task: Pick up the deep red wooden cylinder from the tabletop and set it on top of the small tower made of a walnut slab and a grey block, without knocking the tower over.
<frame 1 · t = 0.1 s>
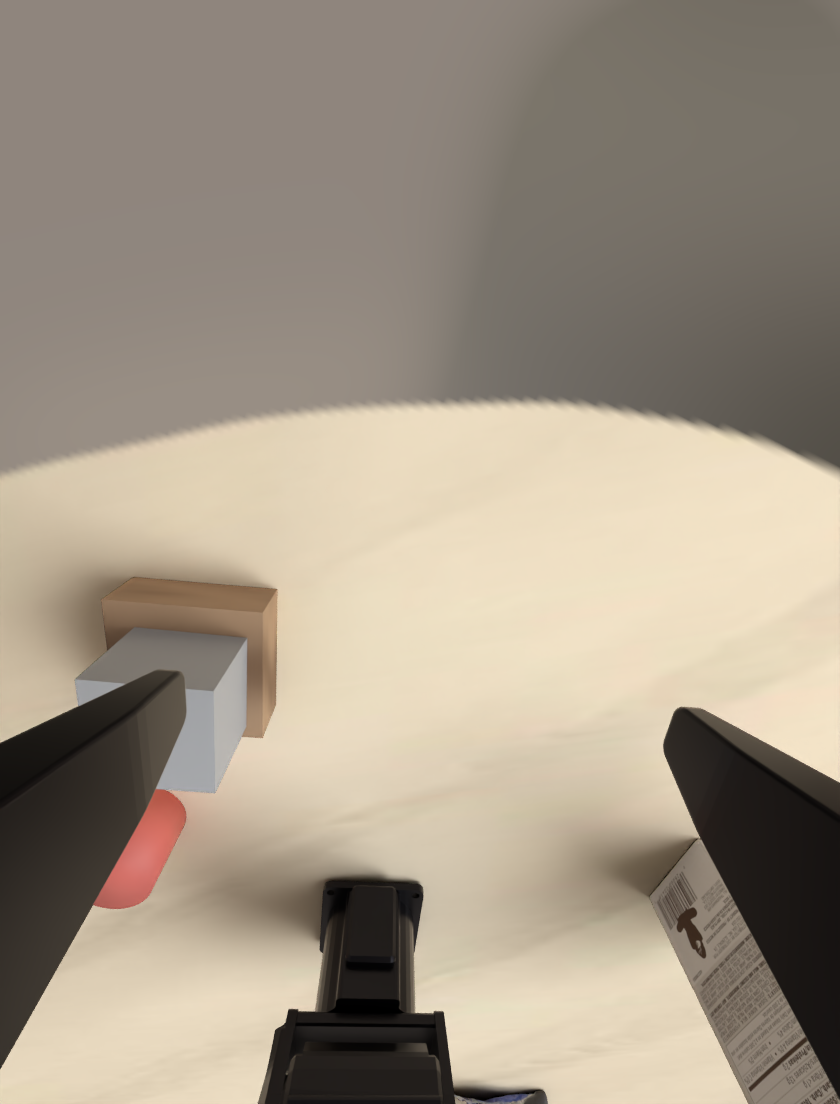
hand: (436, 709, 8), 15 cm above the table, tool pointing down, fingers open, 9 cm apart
walnut slab: (211, 640, 24), on the table
coffee box: (720, 881, 32), on the table
snack package: (475, 1098, 40), on the table
red cylinder: (148, 813, 28), on the table
grey block: (192, 679, 22), point 3 cm above the table
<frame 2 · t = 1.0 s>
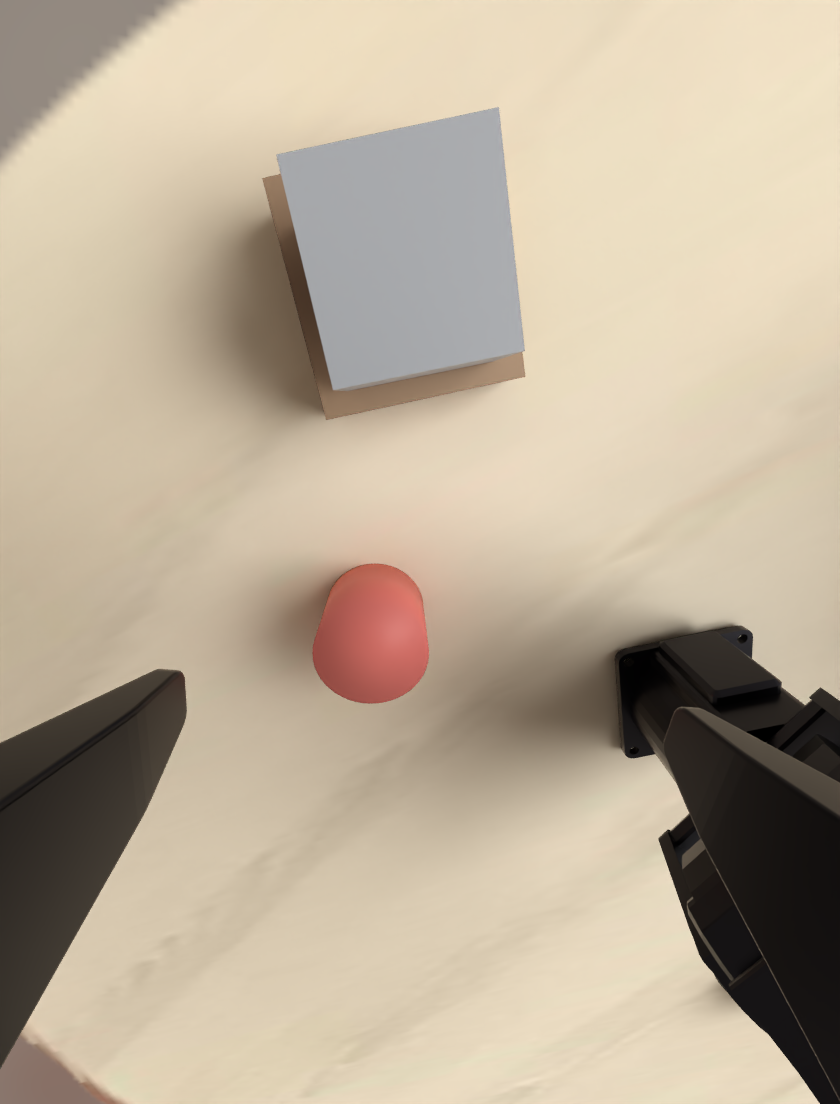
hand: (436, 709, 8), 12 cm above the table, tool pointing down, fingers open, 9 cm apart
walnut slab: (402, 301, 17), on the table, touching grey block
red cylinder: (375, 608, 21), on the table
grey block: (405, 294, 15), point 3 cm above the table, touching walnut slab
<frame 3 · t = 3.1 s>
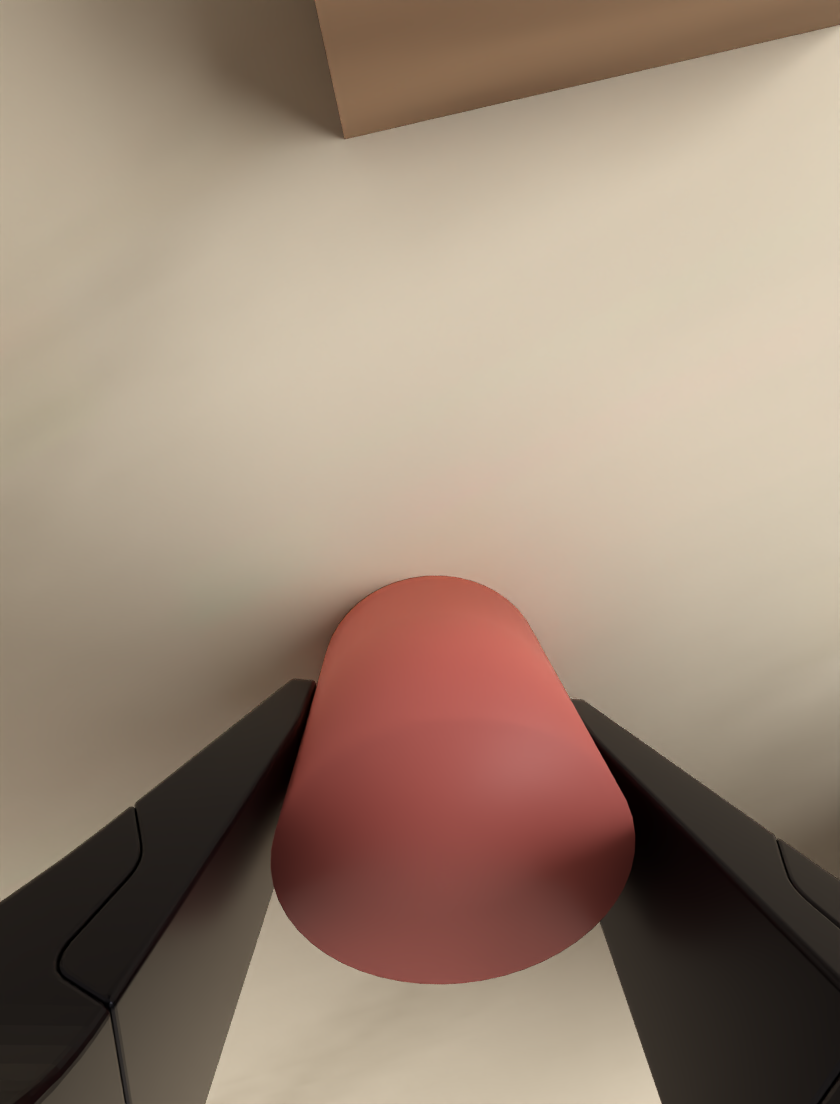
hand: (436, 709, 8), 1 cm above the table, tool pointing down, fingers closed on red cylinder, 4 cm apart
red cylinder: (432, 676, 9), on the table, touching gripper
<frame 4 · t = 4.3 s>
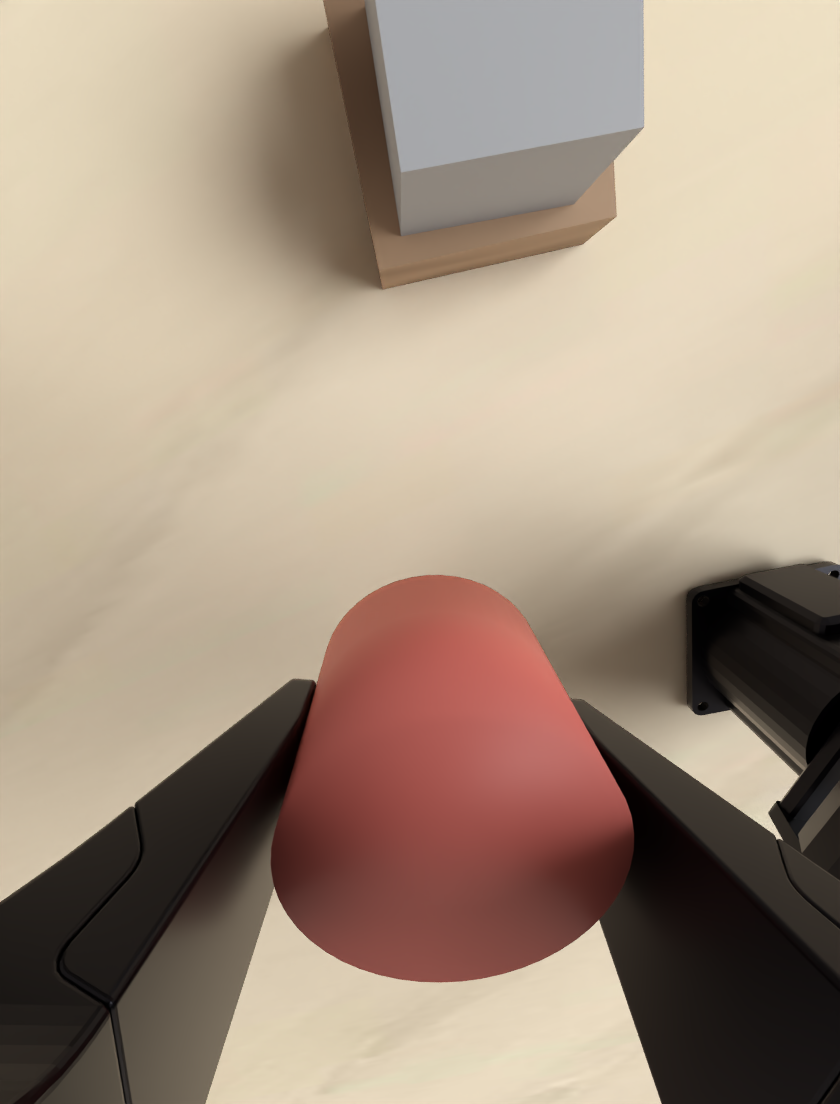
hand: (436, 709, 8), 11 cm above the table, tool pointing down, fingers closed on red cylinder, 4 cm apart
walnut slab: (463, 149, 15), on the table, touching grey block
red cylinder: (432, 675, 9), point 10 cm above the table, touching gripper
grey block: (475, 111, 12), point 3 cm above the table, touching walnut slab
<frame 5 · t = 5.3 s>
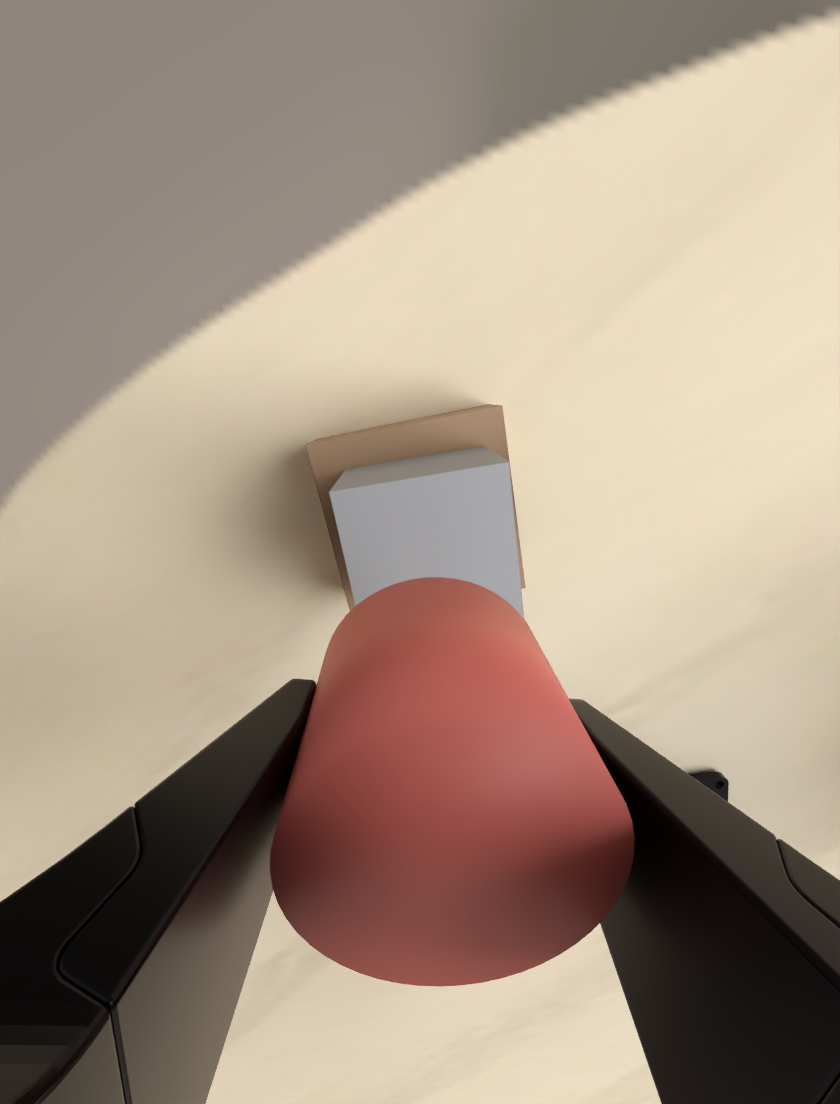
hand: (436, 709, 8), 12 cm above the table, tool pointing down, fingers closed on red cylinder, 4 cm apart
walnut slab: (419, 503, 20), on the table, touching grey block
red cylinder: (432, 677, 9), point 11 cm above the table, touching gripper
grey block: (425, 524, 17), point 3 cm above the table, touching walnut slab
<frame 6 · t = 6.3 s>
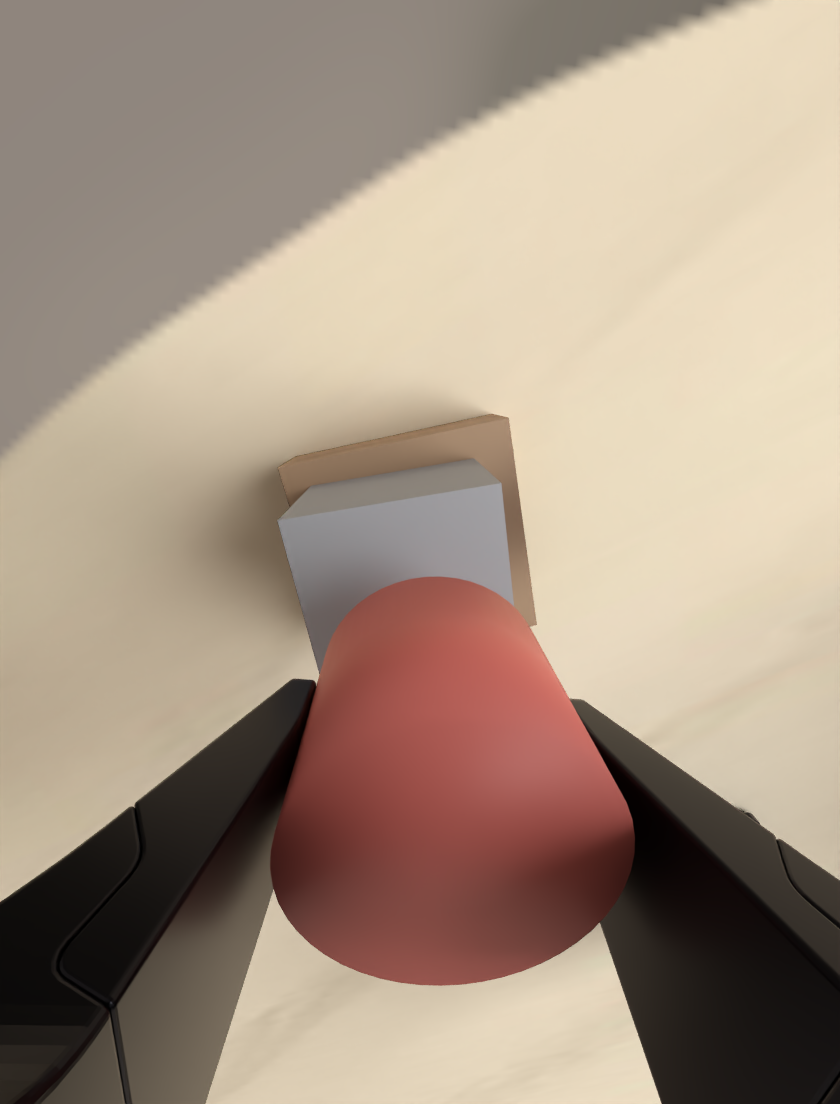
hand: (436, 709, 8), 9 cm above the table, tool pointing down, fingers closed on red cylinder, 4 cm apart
walnut slab: (413, 526, 18), on the table
red cylinder: (432, 676, 9), point 8 cm above the table, touching gripper
grey block: (406, 549, 15), point 3 cm above the table
when the fingers open (9 cm above the table, at t = 6.6 s): red cylinder drops 2 cm, resting on grey block.
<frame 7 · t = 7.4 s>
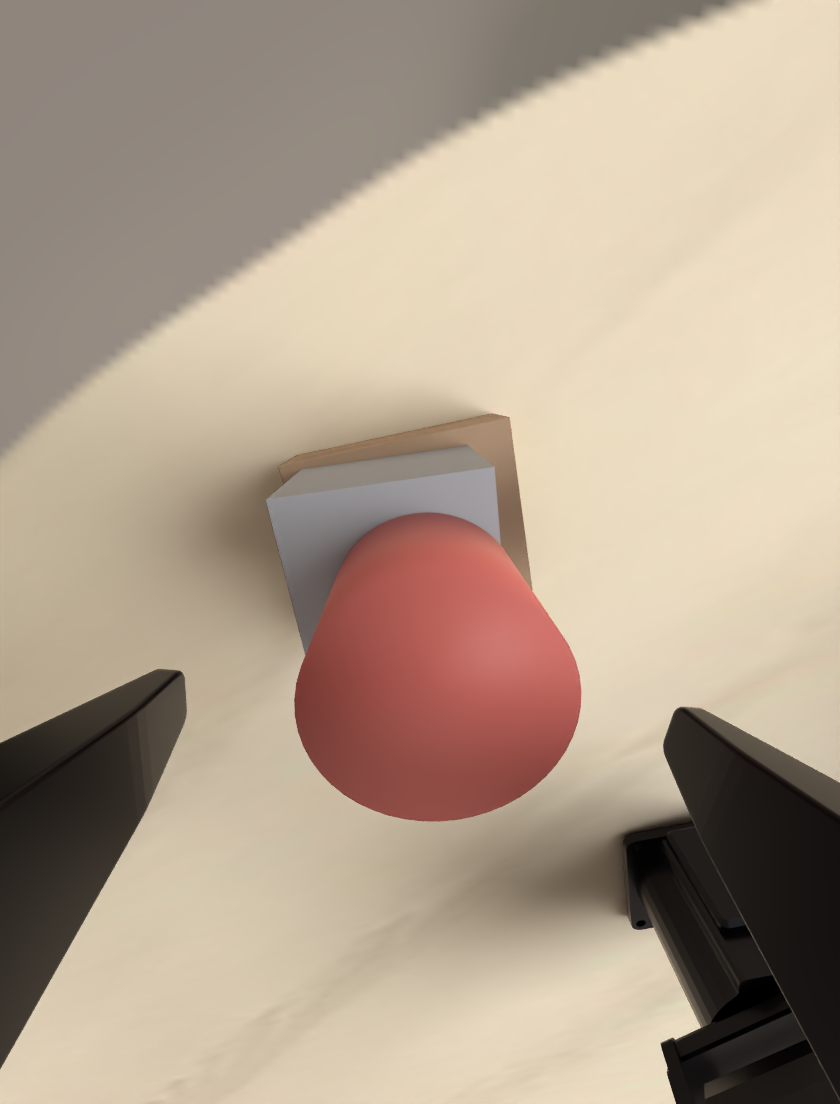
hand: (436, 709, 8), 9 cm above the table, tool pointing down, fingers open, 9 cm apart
walnut slab: (414, 525, 18), on the table, touching grey block
red cylinder: (426, 603, 11), point 7 cm above the table, touching grey block
grey block: (397, 536, 15), point 3 cm above the table, touching red cylinder, walnut slab
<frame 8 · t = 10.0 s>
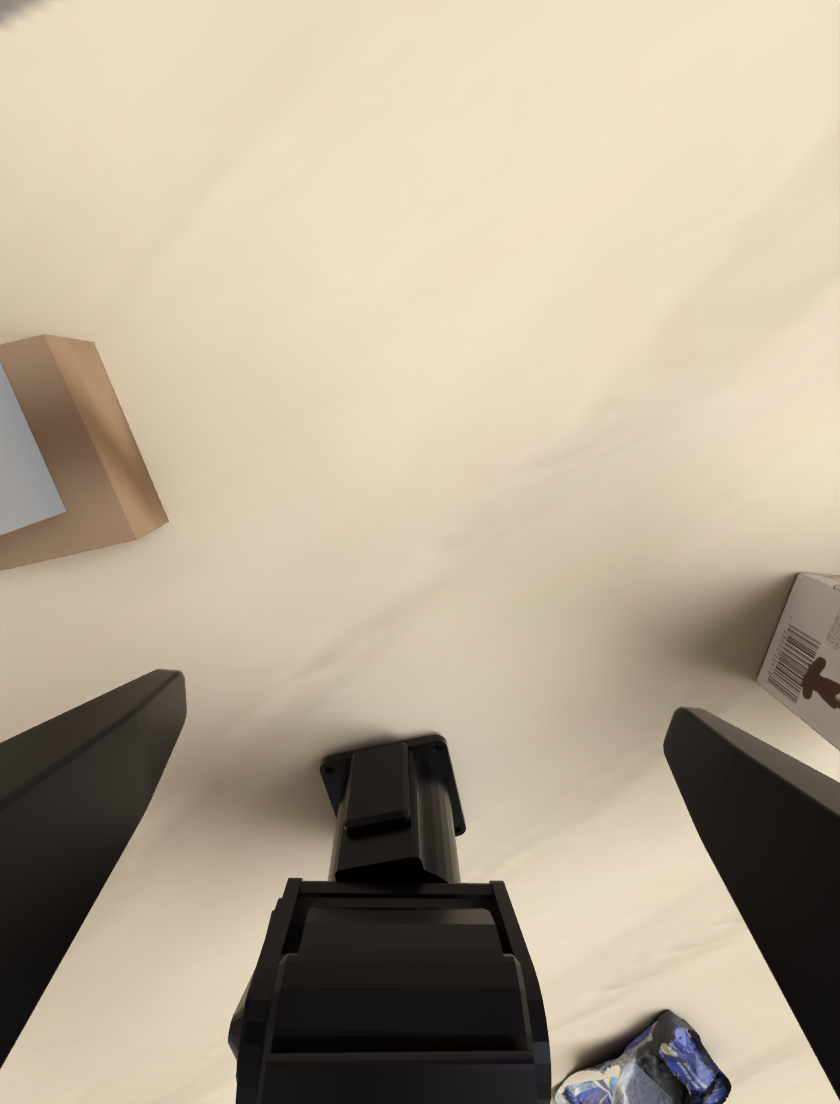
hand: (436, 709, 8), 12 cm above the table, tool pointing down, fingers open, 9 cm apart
walnut slab: (57, 455, 19), on the table, touching grey block
snack package: (630, 1049, 34), on the table
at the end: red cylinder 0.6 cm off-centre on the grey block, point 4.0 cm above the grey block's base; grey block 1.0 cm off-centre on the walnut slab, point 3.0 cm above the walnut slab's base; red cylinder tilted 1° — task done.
